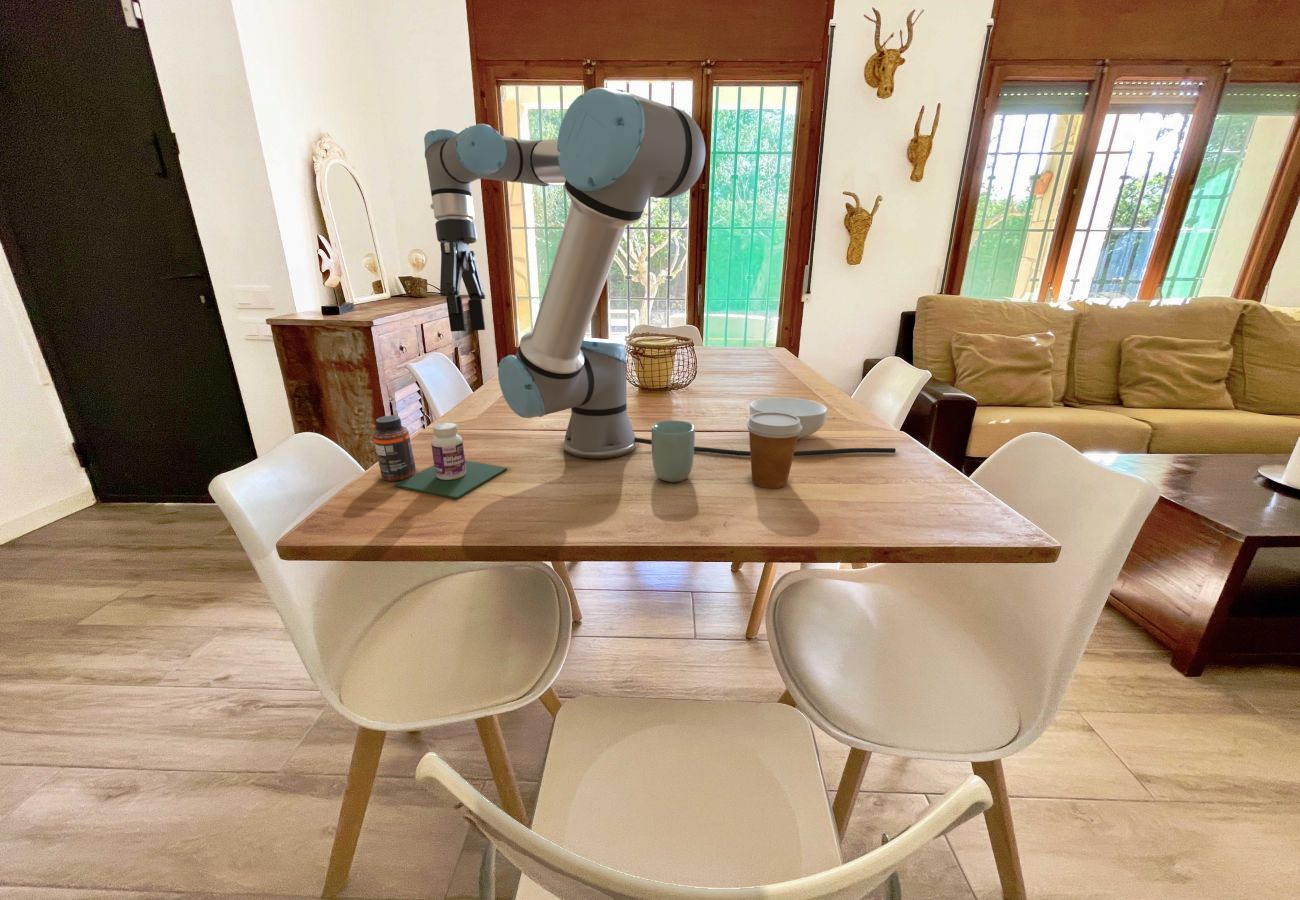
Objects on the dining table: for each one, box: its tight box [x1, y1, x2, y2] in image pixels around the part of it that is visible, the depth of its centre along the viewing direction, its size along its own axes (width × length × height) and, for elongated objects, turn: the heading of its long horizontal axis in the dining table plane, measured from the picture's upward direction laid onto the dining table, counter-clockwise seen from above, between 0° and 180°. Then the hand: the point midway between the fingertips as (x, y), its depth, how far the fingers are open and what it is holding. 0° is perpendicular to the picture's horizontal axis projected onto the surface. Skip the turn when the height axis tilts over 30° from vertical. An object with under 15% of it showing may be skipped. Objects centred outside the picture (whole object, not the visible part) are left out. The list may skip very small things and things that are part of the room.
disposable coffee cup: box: [746, 412, 802, 489], centre depth 92 cm, size 10×10×12 cm
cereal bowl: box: [749, 396, 828, 440], centre depth 118 cm, size 17×17×7 cm
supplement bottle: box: [372, 414, 417, 482], centre depth 95 cm, size 6×6×11 cm
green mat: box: [393, 460, 508, 500], centre depth 96 cm, size 14×14×1 cm
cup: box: [651, 419, 696, 483], centre depth 94 cm, size 8×8×10 cm
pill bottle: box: [430, 422, 466, 480], centre depth 94 cm, size 5×5×10 cm
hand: (469, 330), depth 108 cm, fingers open, 13 cm apart
